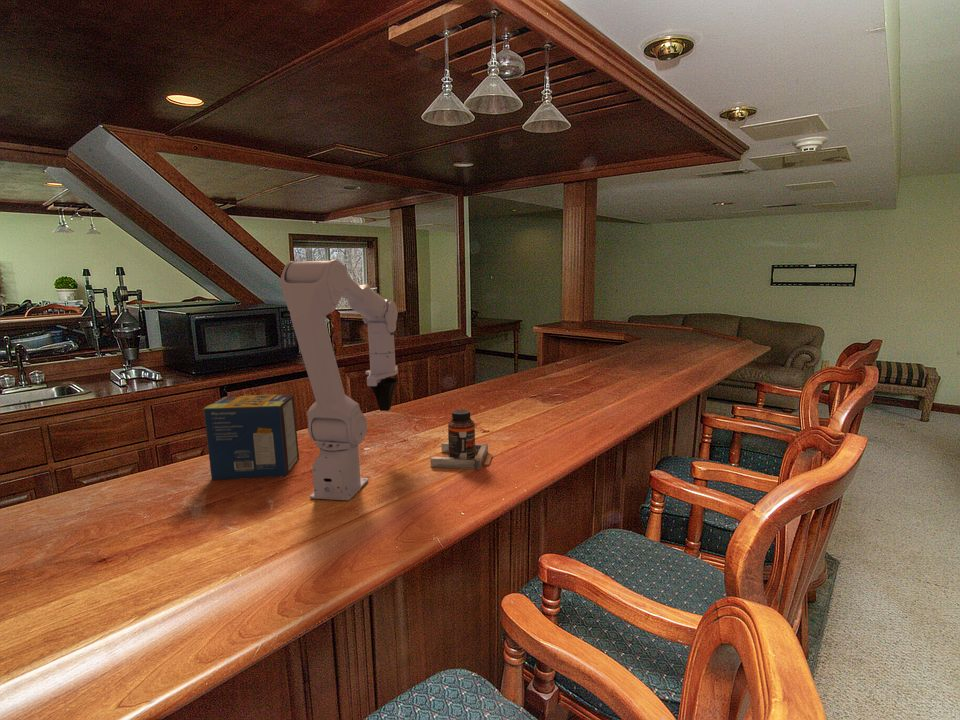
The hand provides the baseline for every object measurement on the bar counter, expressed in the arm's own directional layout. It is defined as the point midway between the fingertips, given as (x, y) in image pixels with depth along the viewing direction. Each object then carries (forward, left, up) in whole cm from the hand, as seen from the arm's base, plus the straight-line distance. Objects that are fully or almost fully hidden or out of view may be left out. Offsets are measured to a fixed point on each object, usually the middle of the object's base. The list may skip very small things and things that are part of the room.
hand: (385, 410), depth 115 cm
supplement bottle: (-2, -18, -11) cm, 21 cm away
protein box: (-13, +25, -11) cm, 30 cm away
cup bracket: (-2, -18, -10) cm, 21 cm away
